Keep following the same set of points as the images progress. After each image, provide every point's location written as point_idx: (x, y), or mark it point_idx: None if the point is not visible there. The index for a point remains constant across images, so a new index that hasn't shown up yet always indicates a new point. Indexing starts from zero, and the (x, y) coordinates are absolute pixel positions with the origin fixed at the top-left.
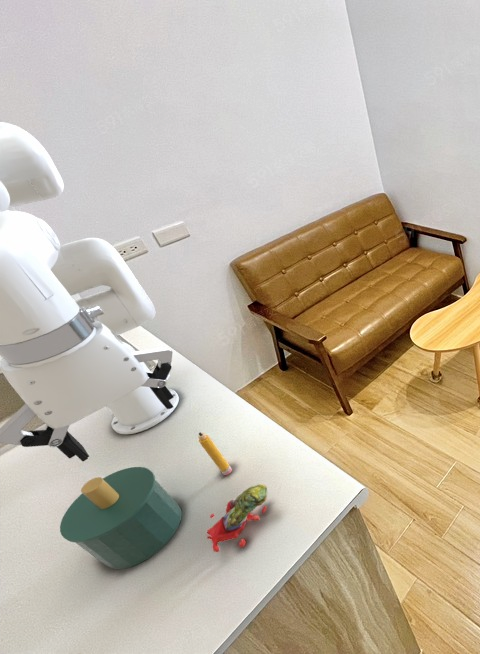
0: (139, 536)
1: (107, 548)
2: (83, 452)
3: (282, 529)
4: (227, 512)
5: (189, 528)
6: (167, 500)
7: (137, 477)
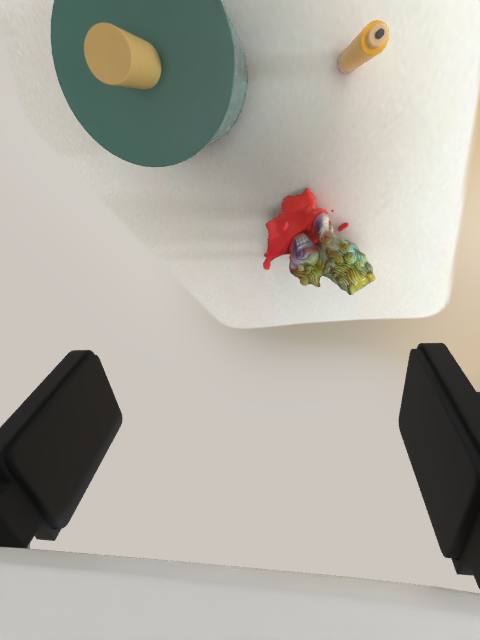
0: None
1: None
2: (106, 446)
3: None
4: (304, 228)
5: (246, 146)
6: (236, 99)
7: (202, 36)
